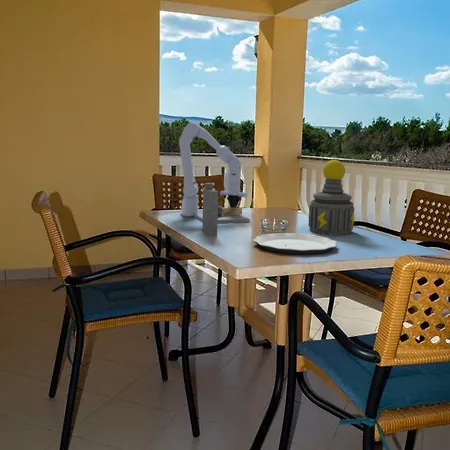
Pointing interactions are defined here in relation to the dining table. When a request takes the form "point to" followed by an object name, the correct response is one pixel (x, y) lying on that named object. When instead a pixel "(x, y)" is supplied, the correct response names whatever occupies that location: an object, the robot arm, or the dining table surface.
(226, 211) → the curved bar with hub
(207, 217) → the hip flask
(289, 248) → the plate
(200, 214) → the grey flat slab
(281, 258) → the dining table surface
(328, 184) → the decorative lamp
